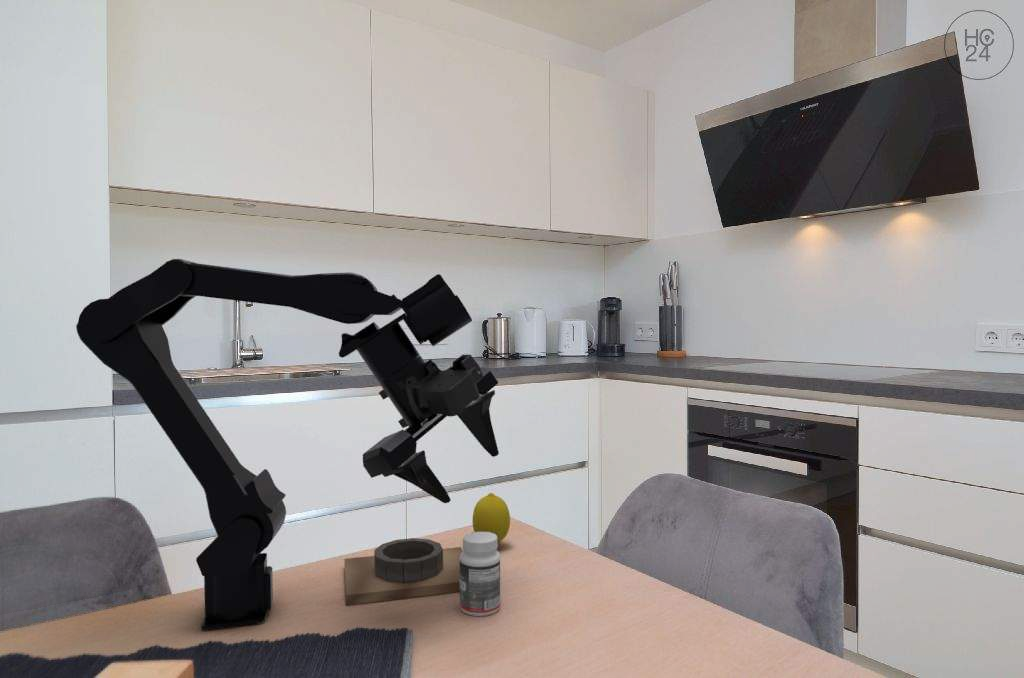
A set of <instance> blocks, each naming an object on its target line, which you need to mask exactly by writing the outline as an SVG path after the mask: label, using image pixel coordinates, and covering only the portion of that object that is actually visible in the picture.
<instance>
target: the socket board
mask: <svg viewBox="0 0 1024 678" xmlns="http://www.w3.org/2000/svg"><path fill="white" fill-rule="evenodd" d="M373 551H374V553H373V555H370V556H360V557H359V556H358V557H349V558H344V561H343V562H344V583H345V606H353V605H359V604H360V605H361V604H369V603H377V602H386V601H392V600H393V601H394V600H402V599H410V598H419V597H426V596H435V595H442V594H451V593H460V555H461V553H462V552H463V551H464V550H463V547H461V546H456V547H448V548H447V547H445V548H443V547H442V545H441V543H440V542H438V541H434V540H432V539H427V538H416V537H412V538H401V539H394V540H391V541H388V542H385V543H382V544H380V545H379V546H378V547H376V548H375V549H374V550H373Z"/></svg>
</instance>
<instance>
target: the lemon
mask: <svg viewBox="0 0 1024 678" xmlns="http://www.w3.org/2000/svg"><path fill="white" fill-rule="evenodd" d="M510 526H511V514H510V511H509V508H508V504H507V503H506V502H505V500H504V499H503V498H501V497H499V496H498V495H496V494H495V493H492V492H490V493H487V495H485V496H483V497H481V498H480V499H479V500H478V501H477V502H476V504H475V506H474V509H473V512H472V528H473V532H490V533H494V534H495V535H497V541H498V543H500V542H502V541H503V540H505V538H506V537H507V535H508V534H509V530H510Z"/></svg>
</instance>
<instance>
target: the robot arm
mask: <svg viewBox="0 0 1024 678" xmlns="http://www.w3.org/2000/svg"><path fill="white" fill-rule="evenodd" d="M195 297H204V298H213V299H220V300H229V301H238V302H245V303H254V304H262V305H270V306H271V305H272V306H279V307H286V308H287V307H288V308H292V309H295V310H298V311H302V312H306V313H308V314H311V315H315V316H316V317H317V316H318V317H321V318H324V319H327V320H332V321H335V322H339V323H341V324H346V325H352V324H353V325H355V324H356V325H357V324H363V323H366V322H368V321H369V320H370V319H372V318H373V317H374V316H392V315H394V314H396V313H397V312H399V311H400V310H403V312H404V313H402V314H401V315H398V317H396V318H394V319H393V320H391V321H389V322H387V323H386V324H384V325H383V326H382V327H380V326H379V325H378V324H377V323H376V322H375V321H373V322H371V323H370V324H368V325H366V326H365V327H363V328H362V329H360V330H359V331H357V332H356V333H354V334H351V333H347V332H344V333H342V334H341V336H340V337H341V345H340V349H339V351H338V356H339V357H340V358H345V357H347V356H349V355H351V354H352V353H354V352H356V351H357V352H358V354H359V356H360V357H361V358H362V360H363V361H364V363H365V364H366V366H367V368H368V369H369V370H370V371H371V373H372V375H373V376H374V377H375V379H376V381H377V382H378V383H379V385H380V387H381V388H382V390H380V391H379V392H378V394H379V395H380V397H381V398H382V400H385V399H388V398H389V400H390V401H391V402H392V405H393V406H394V407H395V409H396V410H397V412H398V413H399V415H400V416H401V418H400V419H399V420H398V421H397V422H398V424H399V425H400V426H401V428H402V429H401V430H398V431H396V432H394V433H391V434H389V435H387V436H384V437H383V438H382V439H381V440H379V441H377V442H376V443H375V444H373V446H371V447H369V449H368V450H366V451H365V452H363V453H362V464H363V468H364V469H365V471H366V473H368V475H369V476H370V478H371V479H372V478H375V477H378V476H381V475H382V476H383V477H384V478H386V477H389V476H392V475H394V476H395V477H398V478H400V479H402V480H403V481H406V482H408V483H410V484H412V485H414V486H415V487H417V488H418V489H421V490H422V491H423V492H426V493H427V494H429V495H430V496H431V497H432V498H434V499H437V500H438V501H440V502H441V503H443V504H449V503H450V502H451V500H452V499H451V498H450V496H449V494H448V492H447V489H445V487H444V485H443V484H442V482H441V481H440V480H439V478H438V477H437V476H436V475H435V473H434V471H433V470H432V469H431V468H430V466H429V465H428V463H427V456H426V452H425V450H421V451H418V452H417V444H418V441H419V440H420V439H421V438H423V437H424V436H425V435H427V433H428V432H430V431H431V430H433V429H434V428H435V427H436V426H437V425H438V424H440V423H441V422H442V421H443V420H444V419H445V418H447V417H450V418H451V417H458V418H459V420H460V421H461V422H462V423H463V425H465V427H466V429H468V430H469V432H470V433H471V435H472V436H473V437H474V438H475V440H476V441H477V442H478V443H479V444H480V445H481V447H482V448H483V449H484V451H486V452H487V453H488V454H489V455H490V456H491V457H492V458H494V457H497V456H498V455H499V454H500V453H499V449H498V445H497V440H496V437H495V433H494V429H493V424H492V419H491V413H490V407H491V402H492V398H493V397H495V395H496V390H494V388H495V386H497V385H498V384H499V381H498V379H497V377H496V376H495V375H494V373H493V371H492V370H490V369H488V368H485V367H483V366H480V365H479V363H478V362H477V361H476V359H474V357H473V355H472V354H461V355H460V356H459V357H457V358H455V360H453V361H452V366H450V367H449V368H447V369H444V370H441V369H440V368H439V367H438V365H437V364H436V363H435V361H434V362H433V360H432V359H429V360H427V361H425V360H424V359H423V357H422V355H421V354H420V353H419V351H418V350H417V348H416V347H415V346H414V344H413V342H412V341H411V339H410V338H409V336H408V334H407V333H406V332H405V330H404V329H403V328H402V326H401V325H400V323H401V322H402V321H403V322H404V324H406V326H407V328H408V329H409V331H410V332H411V334H412V335H413V337H414V338H415V339H416V341H417V343H418V344H419V345H423V344H424V343H426V342H427V341H428V342H429V343H430V345H431V346H432V347H435V346H436V345H438V344H440V343H441V342H442V341H445V339H447V338H449V337H450V336H452V335H453V334H454V333H456V332H458V331H459V330H461V329H462V328H464V327H466V326H467V325H468V324H470V323H471V322H473V319H472V317H471V315H470V313H469V312H468V310H467V308H466V307H465V305H464V303H463V302H462V301H461V299H460V297H459V296H458V295H457V294H455V293H454V292H453V290H452V288H451V287H450V286H449V284H447V282H446V281H445V280H444V278H443V276H442V275H441V274H439V273H438V274H436V275H434V276H433V277H431V278H430V279H429V280H428V281H427V282H426V283H425V284H423V285H422V286H421V287H419V288H417V289H415V290H414V291H413V292H411V293H410V294H407V296H405V297H403V298H401V299H400V298H398V297H397V296H396V295H395V294H391V295H389V294H386V293H383V292H381V291H378V289H377V286H376V285H375V284H374V283H373V282H372V281H371V280H370V279H368V277H367V278H366V277H365V276H363V275H361V274H358V273H356V272H328V273H327V272H326V273H325V272H324V273H314V274H313V273H312V274H304V275H303V274H301V275H299V274H298V275H292V274H283V273H277V272H276V273H275V272H269V271H260V270H251V269H244V268H243V269H242V268H236V267H228V266H219V265H211V264H205V263H197V262H194V261H189V260H187V259H186V260H185V259H181V258H173V259H170V260H168V261H167V260H166V262H164V263H163V264H162V265H160V266H159V267H158V268H156V269H155V270H154V271H152V272H151V273H149V274H147V275H145V276H144V277H141V278H139V279H138V280H136V281H134V282H132V283H130V284H128V285H126V286H125V287H122V288H121V289H118V291H116V292H115V293H114V294H112V295H111V296H110V297H108V298H98V299H97V300H94V301H91V302H90V303H88V305H87V304H86V306H84V308H83V309H82V311H81V312H80V314H79V316H78V319H77V320H78V321H77V324H76V325H75V328H76V333H77V335H78V337H79V340H80V341H81V342H82V343H83V345H84V346H86V347H87V349H89V350H90V351H91V353H92V354H93V355H94V356H95V357H96V358H97V359H98V360H99V361H100V362H101V364H103V365H105V366H106V367H108V368H110V369H111V371H113V372H115V373H117V374H118V375H119V376H121V377H122V378H124V379H125V380H127V381H128V382H129V383H130V384H131V385H132V387H134V389H135V391H136V393H138V395H139V396H140V398H141V400H142V402H143V403H144V404H145V406H146V407H147V409H148V410H149V412H150V413H151V414H152V415H153V417H154V418H155V421H157V423H158V424H159V427H161V429H162V431H163V432H164V433H165V434H166V436H167V438H168V439H169V441H170V442H171V444H172V445H173V446H174V449H176V451H177V453H178V454H179V455H180V457H181V458H182V460H183V461H184V462H185V464H186V465H187V467H188V468H189V470H190V471H191V472H192V474H193V475H194V477H195V478H196V480H197V481H198V483H199V485H200V486H201V487H202V489H203V491H204V493H205V494H204V495H205V499H206V503H207V509H208V515H209V518H210V522H211V524H212V526H213V528H214V531H215V533H216V534H217V536H216V537H215V538H214V540H212V541H211V543H209V544H208V546H207V547H206V548H205V549H204V550H203V551H202V552H200V553H199V555H198V556H197V557H196V558H195V561H196V564H197V566H198V568H199V571H200V574H201V575H202V577H203V583H204V585H203V586H204V588H203V589H204V590H203V591H204V595H203V596H204V618H203V620H202V622H201V625H200V627H201V630H203V631H206V630H213V629H222V628H229V627H231V628H232V627H237V626H238V627H239V626H245V625H253V624H261V623H262V624H263V623H265V621H266V618H267V616H268V615H267V613H268V611H270V610H271V609H272V607H273V606H272V605H273V601H274V586H273V585H274V581H273V580H274V578H273V575H274V574H273V566H271V565H269V566H268V553H267V552H263V551H265V549H266V548H268V547H269V545H270V544H271V543H272V542H273V540H274V539H275V537H276V535H277V534H278V533H279V531H280V530H281V529H282V526H283V525H284V524H285V521H286V517H287V516H286V515H287V509H286V505H285V503H284V501H283V500H284V499H285V497H286V494H285V492H283V491H282V490H280V489H279V488H278V487H277V486H276V484H275V482H274V480H273V478H272V475H271V474H270V472H269V470H268V469H265V468H264V469H263V470H262V471H261V472H260V473H259V474H258V475H256V474H255V473H253V472H252V471H250V470H249V469H247V468H246V467H245V466H244V465H242V464H241V462H240V461H239V459H238V458H237V457H236V454H235V453H234V451H233V450H232V449H231V448H230V445H228V443H227V442H226V440H225V439H224V436H222V434H221V433H220V431H219V430H218V429H217V427H216V425H215V424H214V423H213V421H212V419H211V418H210V416H209V415H208V413H207V411H205V409H204V407H203V406H202V405H201V403H200V401H199V400H198V399H197V397H196V396H195V394H194V393H193V392H192V390H191V388H190V387H189V385H188V384H187V383H186V381H185V379H184V378H183V377H182V375H181V374H180V372H179V371H178V369H177V368H176V366H175V365H174V362H173V359H172V354H171V349H170V343H169V339H168V336H167V333H166V332H165V329H164V327H163V326H164V325H165V324H166V323H168V322H169V321H170V320H172V319H173V318H174V317H175V316H177V314H178V313H179V312H180V311H181V310H182V309H184V307H185V306H186V305H187V304H188V303H189V302H190V301H191V300H193V299H194V298H195ZM492 389H493V390H492ZM404 428H405V430H404Z"/></svg>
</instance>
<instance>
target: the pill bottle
mask: <svg viewBox="0 0 1024 678" xmlns="http://www.w3.org/2000/svg"><path fill="white" fill-rule="evenodd" d="M498 544H499V542H498V541H497V535H495V534H494V533H490V532H474V531H473V532H468V533H466V534H464V535H463V537H462V550H463V552H462V553H461V555H460V592H459V608H460V610H461V611H462V612H463V613H464V614H467V615H469V616H476V617H484V616H485V617H487V616H489V615H493V614H495V613H496V612H498V611H499V609H500V607H501V554H500V552H499V551H498V547H499V545H498Z"/></svg>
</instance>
